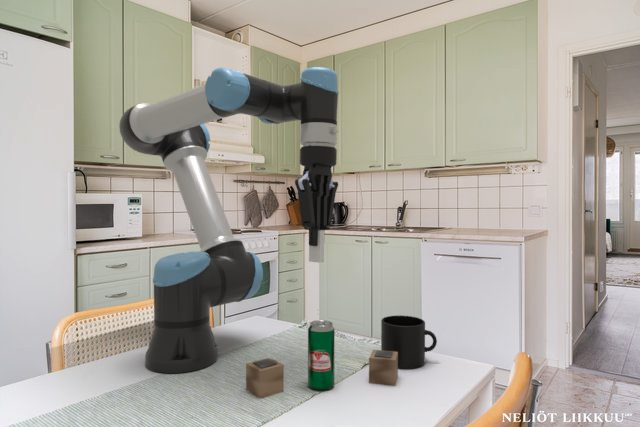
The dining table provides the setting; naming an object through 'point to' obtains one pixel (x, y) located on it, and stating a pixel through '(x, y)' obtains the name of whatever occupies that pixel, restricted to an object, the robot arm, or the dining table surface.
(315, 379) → the soda can
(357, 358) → the dining table surface
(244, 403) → the dining table surface
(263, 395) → the walnut block
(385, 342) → the mug
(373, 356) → the walnut block
